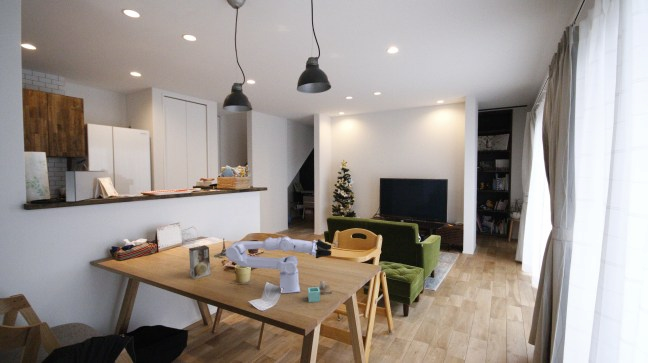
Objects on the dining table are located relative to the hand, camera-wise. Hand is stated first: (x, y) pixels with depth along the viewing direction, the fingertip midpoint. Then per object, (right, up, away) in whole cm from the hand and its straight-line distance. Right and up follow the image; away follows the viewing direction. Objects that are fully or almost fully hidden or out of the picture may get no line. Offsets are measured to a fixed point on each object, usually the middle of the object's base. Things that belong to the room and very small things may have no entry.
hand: (331, 250), depth 142 cm
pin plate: (-4, -19, -1) cm, 20 cm away
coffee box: (-74, -20, +22) cm, 80 cm away
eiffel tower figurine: (-74, -18, +61) cm, 98 cm away
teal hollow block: (-8, -20, -10) cm, 24 cm away
